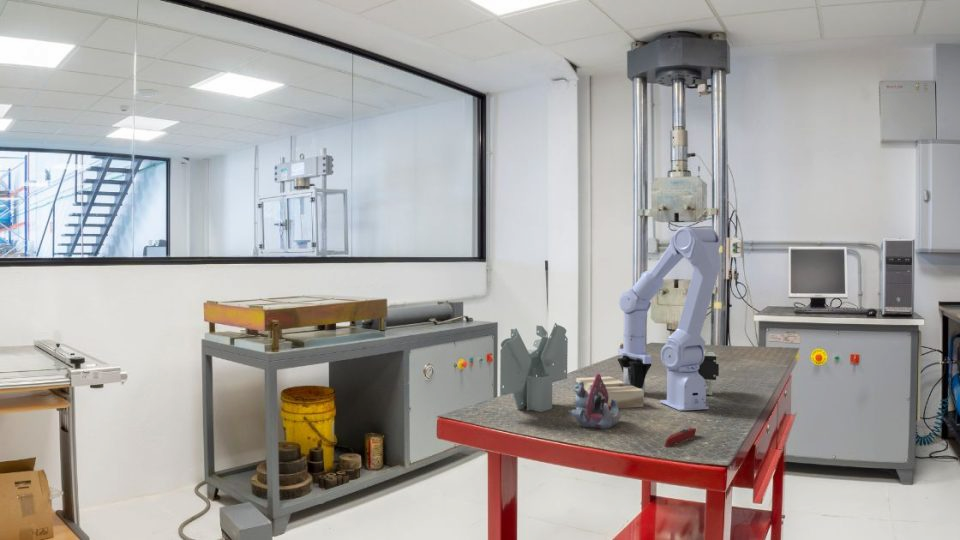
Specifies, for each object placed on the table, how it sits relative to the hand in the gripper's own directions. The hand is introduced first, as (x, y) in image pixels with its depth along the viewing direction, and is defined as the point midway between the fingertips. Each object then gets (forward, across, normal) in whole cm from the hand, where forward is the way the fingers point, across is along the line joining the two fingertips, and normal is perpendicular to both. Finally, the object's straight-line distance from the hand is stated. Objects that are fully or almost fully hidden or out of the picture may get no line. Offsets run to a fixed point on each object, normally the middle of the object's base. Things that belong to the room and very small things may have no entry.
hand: (633, 386), depth 164 cm
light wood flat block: (+2, +5, -10) cm, 11 cm away
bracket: (+2, +9, -31) cm, 33 cm away
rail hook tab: (+2, 0, 0) cm, 2 cm away
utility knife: (+2, +41, -12) cm, 43 cm away
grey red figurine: (+2, +25, -23) cm, 34 cm away
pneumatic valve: (+2, +5, +19) cm, 20 cm away
